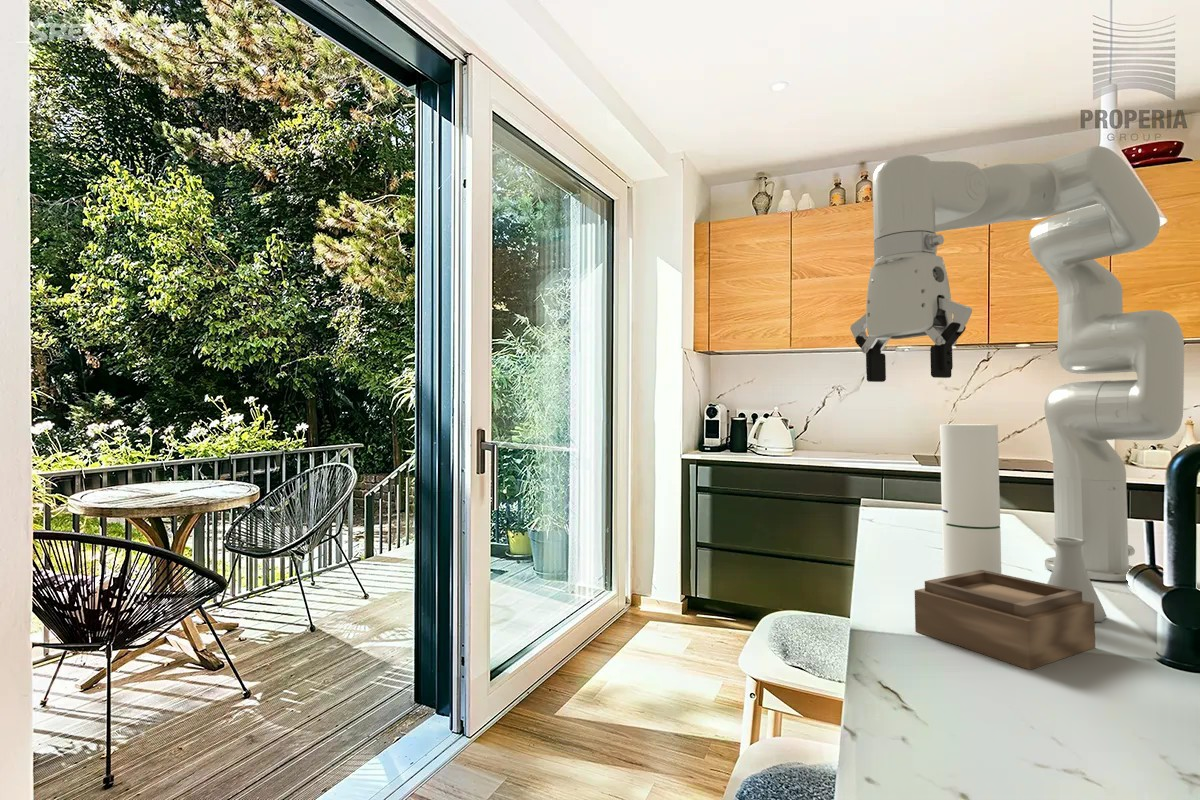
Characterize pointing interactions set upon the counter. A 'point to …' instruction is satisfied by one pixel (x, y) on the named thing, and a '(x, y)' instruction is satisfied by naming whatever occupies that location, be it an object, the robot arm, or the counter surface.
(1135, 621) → the counter surface
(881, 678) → the counter surface
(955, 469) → the cylindrical container
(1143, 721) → the counter surface
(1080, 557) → the flask
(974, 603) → the tray
